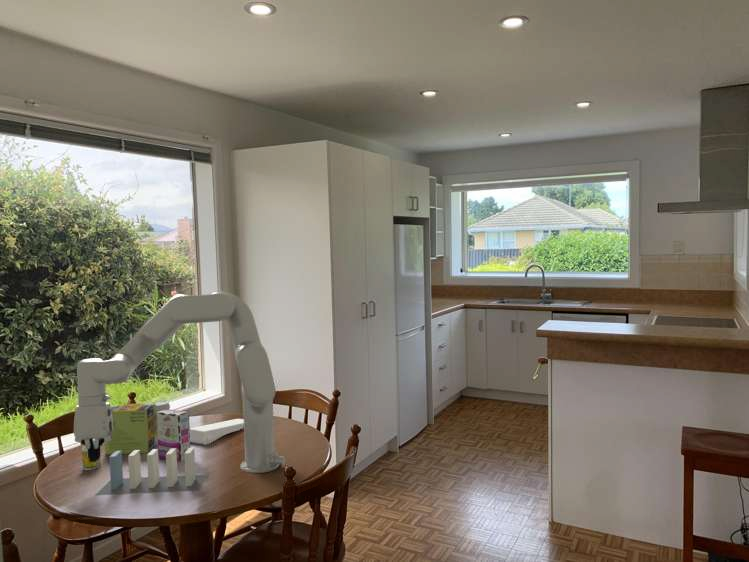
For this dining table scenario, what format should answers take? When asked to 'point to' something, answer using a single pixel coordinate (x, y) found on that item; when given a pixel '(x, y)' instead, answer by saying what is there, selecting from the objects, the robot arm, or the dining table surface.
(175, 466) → the domino
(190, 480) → the domino
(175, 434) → the candy bar box
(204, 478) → the mat
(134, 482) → the domino
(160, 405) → the coffee cup
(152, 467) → the domino
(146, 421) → the protein box
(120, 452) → the domino placed
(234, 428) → the wall bracket
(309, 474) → the dining table surface
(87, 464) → the supplement bottle
